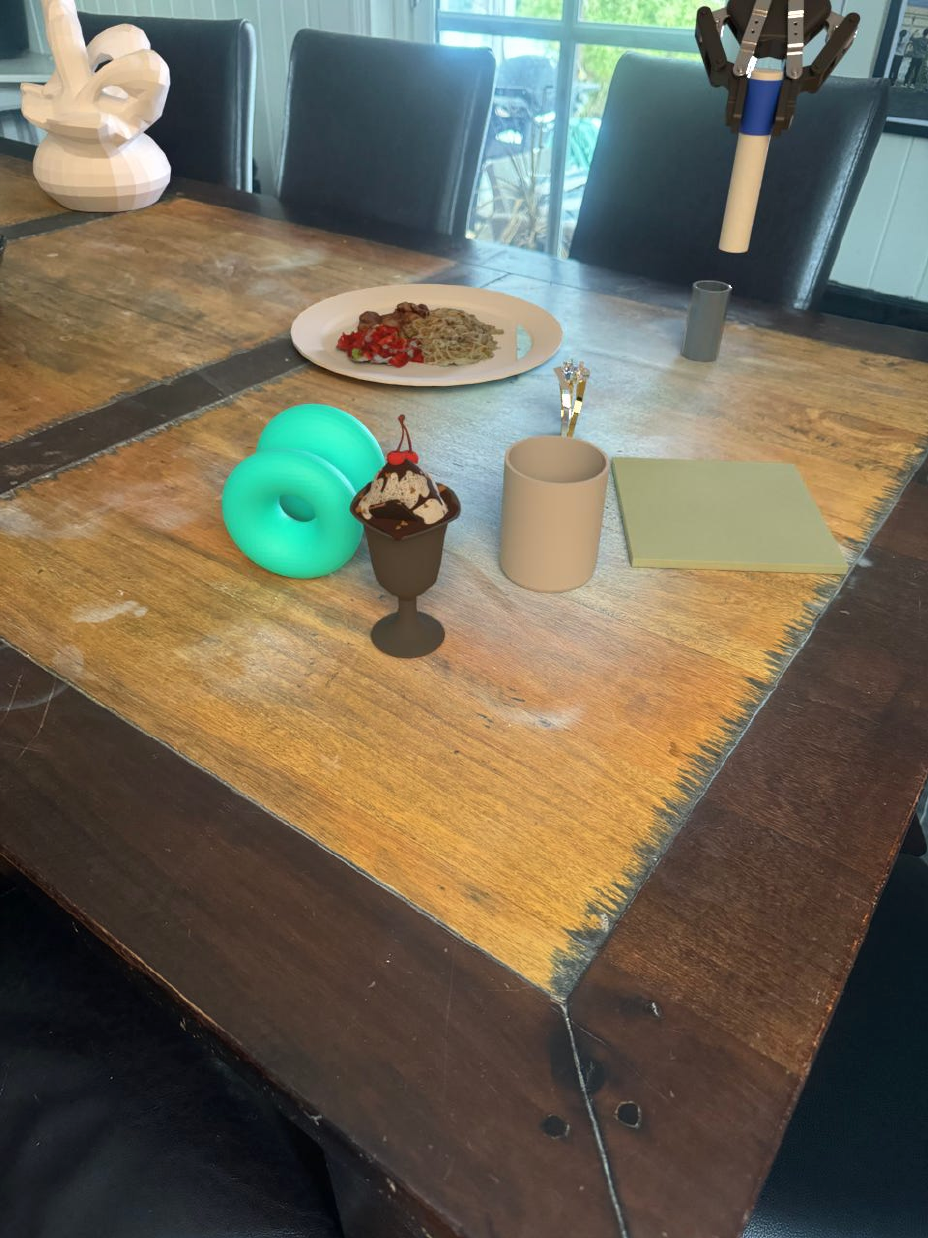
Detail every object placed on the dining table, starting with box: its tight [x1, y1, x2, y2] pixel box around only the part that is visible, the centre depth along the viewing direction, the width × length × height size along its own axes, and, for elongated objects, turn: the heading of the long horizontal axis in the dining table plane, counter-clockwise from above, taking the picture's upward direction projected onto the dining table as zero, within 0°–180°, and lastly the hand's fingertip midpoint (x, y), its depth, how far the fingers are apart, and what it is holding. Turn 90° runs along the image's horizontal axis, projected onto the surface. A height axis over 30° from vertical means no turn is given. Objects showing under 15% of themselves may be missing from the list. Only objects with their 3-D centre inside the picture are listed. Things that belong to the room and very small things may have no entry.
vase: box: [19, 0, 172, 213], centre depth 138 cm, size 29×22×35 cm
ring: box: [552, 358, 591, 438], centre depth 81 cm, size 7×3×8 cm, turn 172°
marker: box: [718, 68, 783, 254], centre depth 79 cm, size 3×3×14 cm
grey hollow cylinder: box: [680, 279, 733, 363], centre depth 98 cm, size 4×4×8 cm
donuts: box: [221, 403, 386, 580], centre depth 66 cm, size 10×10×10 cm
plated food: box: [290, 283, 564, 387], centre depth 101 cm, size 30×30×3 cm
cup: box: [498, 434, 611, 594], centre depth 66 cm, size 7×10×9 cm
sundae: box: [349, 413, 462, 659], centre depth 56 cm, size 7×7×15 cm
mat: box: [610, 456, 850, 575], centre depth 74 cm, size 16×16×1 cm
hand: (756, 127), depth 75 cm, fingers closed on marker, 2 cm apart
